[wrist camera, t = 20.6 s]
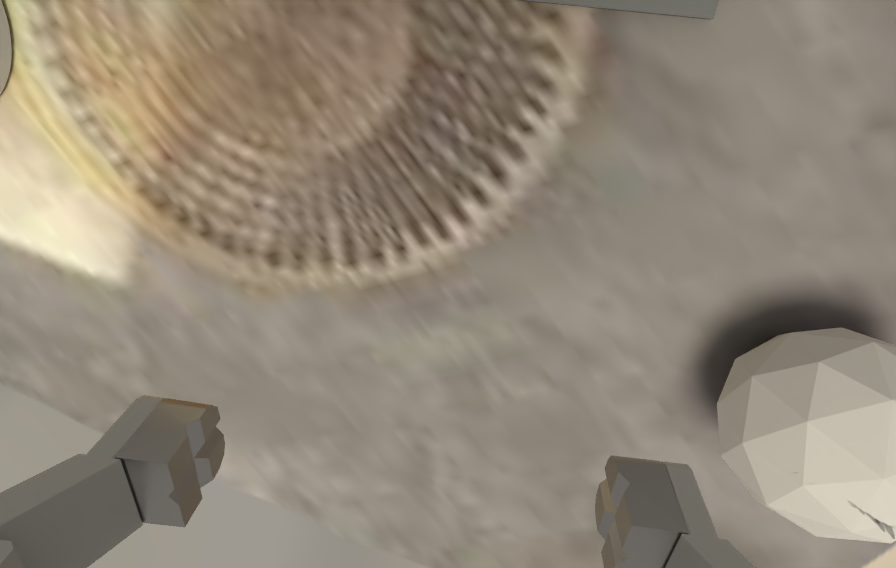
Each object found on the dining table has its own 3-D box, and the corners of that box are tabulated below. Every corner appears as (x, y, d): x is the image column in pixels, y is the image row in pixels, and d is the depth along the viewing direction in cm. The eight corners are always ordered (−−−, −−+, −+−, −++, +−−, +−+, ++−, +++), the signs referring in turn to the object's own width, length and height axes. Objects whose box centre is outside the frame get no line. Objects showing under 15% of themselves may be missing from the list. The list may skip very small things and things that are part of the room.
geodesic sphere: (1052, 355, 31) (1073, 479, 22) (940, 514, 37) (920, 661, 28) (784, 272, 39) (720, 337, 31) (730, 412, 46) (663, 500, 37)
